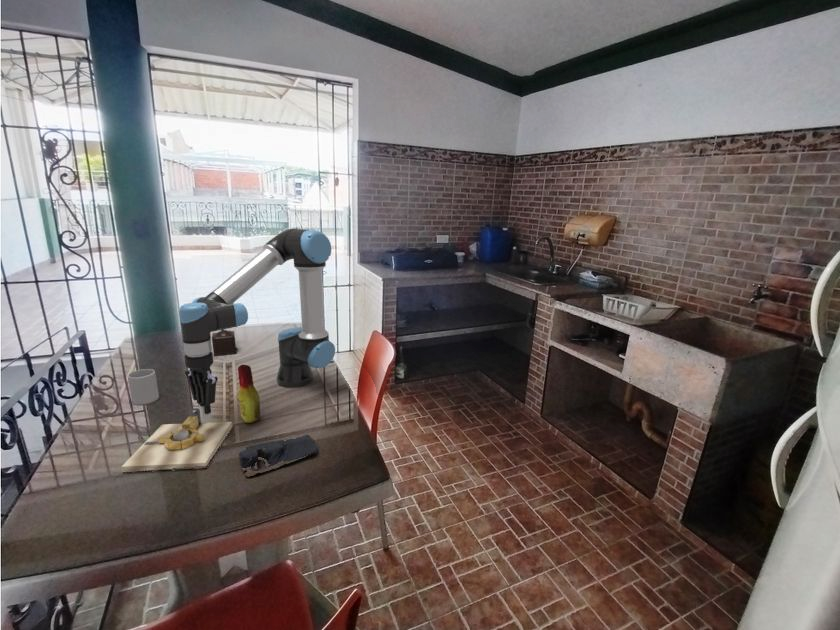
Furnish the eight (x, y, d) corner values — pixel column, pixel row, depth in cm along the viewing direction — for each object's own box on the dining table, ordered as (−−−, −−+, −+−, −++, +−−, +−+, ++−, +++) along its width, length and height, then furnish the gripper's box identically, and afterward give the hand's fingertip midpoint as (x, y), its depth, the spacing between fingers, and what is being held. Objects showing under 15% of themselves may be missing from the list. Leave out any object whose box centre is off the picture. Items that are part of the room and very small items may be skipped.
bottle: (237, 412, 141) (232, 361, 136) (256, 408, 145) (251, 358, 140) (243, 428, 132) (238, 373, 126) (263, 422, 135) (259, 369, 130)
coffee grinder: (238, 353, 197) (234, 319, 192) (213, 356, 192) (209, 321, 187) (237, 344, 210) (234, 312, 206) (214, 346, 206) (210, 313, 201)
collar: (217, 420, 131) (215, 407, 130) (197, 448, 116) (195, 433, 115) (178, 422, 130) (176, 408, 128) (152, 450, 115) (150, 435, 113)
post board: (232, 427, 132) (231, 413, 131) (206, 468, 111) (204, 453, 110) (163, 429, 129) (160, 416, 128) (122, 472, 108) (119, 457, 107)
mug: (154, 403, 146) (150, 376, 143) (128, 406, 143) (123, 378, 141) (165, 389, 157) (161, 364, 154) (141, 391, 155) (136, 366, 152)
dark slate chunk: (322, 461, 117) (321, 447, 115) (241, 482, 107) (240, 467, 105) (310, 435, 130) (310, 422, 128) (238, 451, 120) (236, 438, 119)
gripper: (223, 353, 120) (230, 422, 126) (197, 345, 126) (204, 411, 132) (200, 361, 114) (208, 432, 120) (173, 352, 120) (182, 421, 126)
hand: (206, 421), depth 126 cm, fingers closed
